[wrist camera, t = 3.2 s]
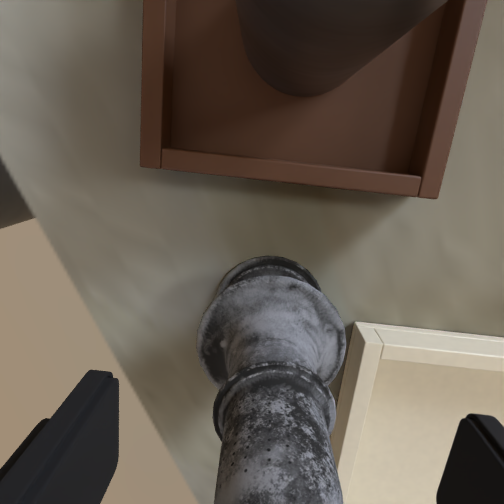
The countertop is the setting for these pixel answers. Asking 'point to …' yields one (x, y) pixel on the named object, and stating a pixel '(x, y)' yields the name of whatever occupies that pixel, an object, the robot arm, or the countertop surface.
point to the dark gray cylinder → (322, 38)
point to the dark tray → (303, 104)
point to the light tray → (409, 408)
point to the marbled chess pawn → (273, 384)
